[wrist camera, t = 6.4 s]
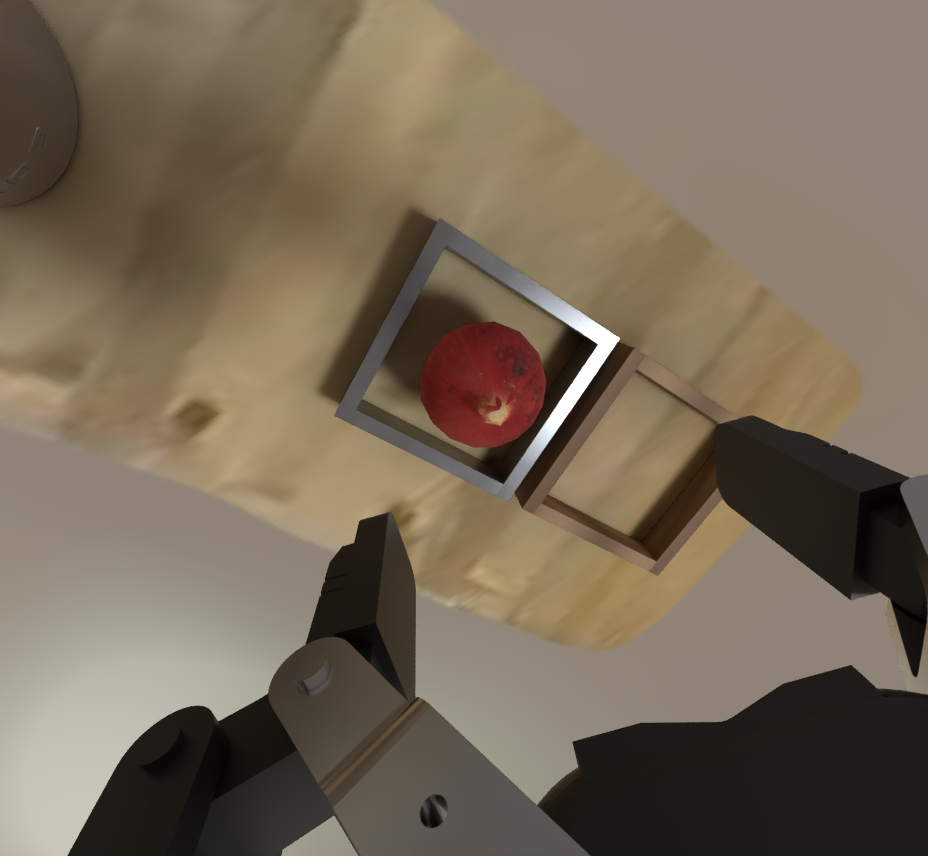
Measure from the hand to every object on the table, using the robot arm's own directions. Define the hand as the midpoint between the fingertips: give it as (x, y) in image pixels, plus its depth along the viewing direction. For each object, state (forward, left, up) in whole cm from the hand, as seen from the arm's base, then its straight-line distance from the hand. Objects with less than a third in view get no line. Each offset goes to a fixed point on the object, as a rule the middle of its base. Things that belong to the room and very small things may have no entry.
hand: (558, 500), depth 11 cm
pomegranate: (0, 0, -15) cm, 15 cm away
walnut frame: (+11, +4, -15) cm, 19 cm away
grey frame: (0, 0, -15) cm, 15 cm away
